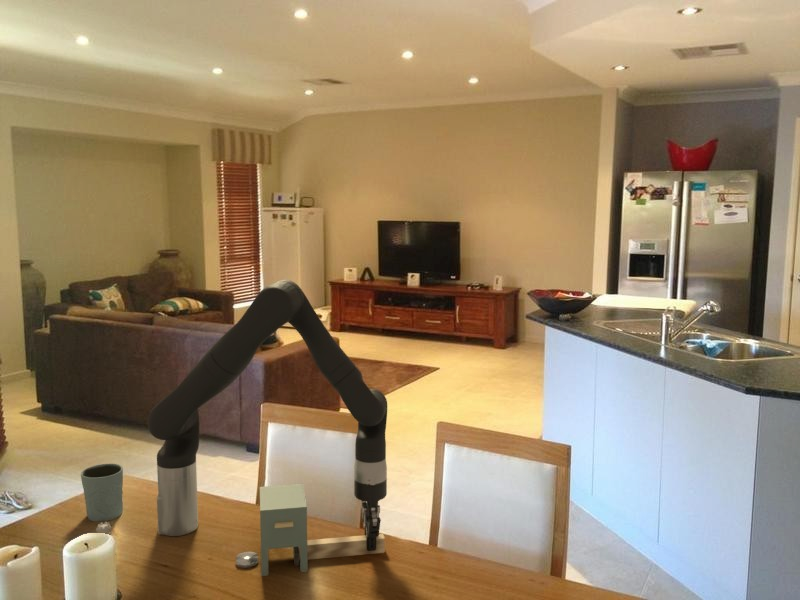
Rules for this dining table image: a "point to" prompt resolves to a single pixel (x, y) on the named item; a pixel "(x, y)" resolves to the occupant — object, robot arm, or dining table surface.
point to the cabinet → (283, 521)
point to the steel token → (246, 559)
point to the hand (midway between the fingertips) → (370, 546)
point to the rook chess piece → (104, 528)
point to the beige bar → (339, 547)
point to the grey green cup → (103, 491)
